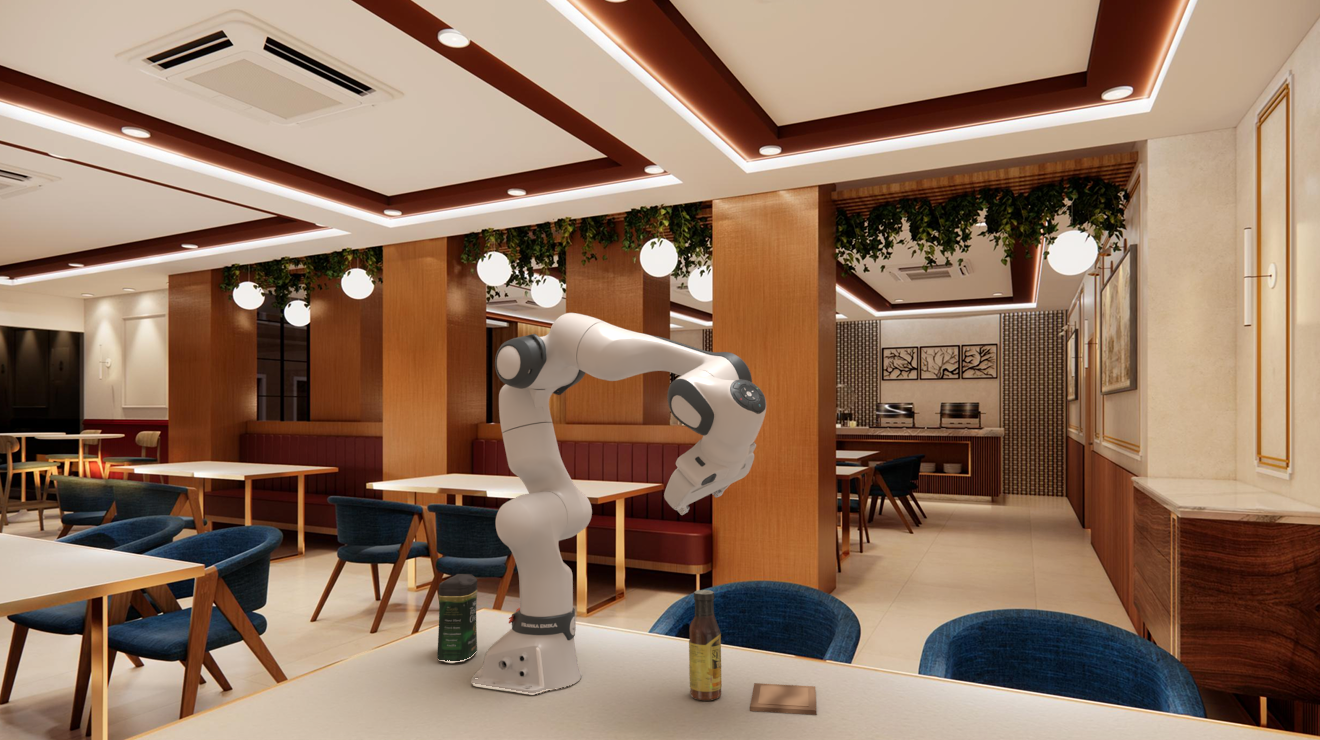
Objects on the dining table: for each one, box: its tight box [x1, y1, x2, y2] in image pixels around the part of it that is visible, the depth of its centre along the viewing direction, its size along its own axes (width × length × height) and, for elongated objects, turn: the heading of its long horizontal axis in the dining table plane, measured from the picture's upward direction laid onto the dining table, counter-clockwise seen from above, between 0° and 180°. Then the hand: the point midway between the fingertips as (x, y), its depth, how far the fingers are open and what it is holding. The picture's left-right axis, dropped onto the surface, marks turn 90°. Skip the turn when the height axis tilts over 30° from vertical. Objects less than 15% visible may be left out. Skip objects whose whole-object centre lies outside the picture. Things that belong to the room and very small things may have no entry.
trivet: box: [749, 682, 818, 716], centre depth 139 cm, size 12×12×1 cm
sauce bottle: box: [688, 589, 723, 702], centre depth 143 cm, size 7×6×20 cm
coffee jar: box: [436, 573, 478, 661], centre depth 168 cm, size 10×8×19 cm
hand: (699, 502), depth 144 cm, fingers open, 8 cm apart
